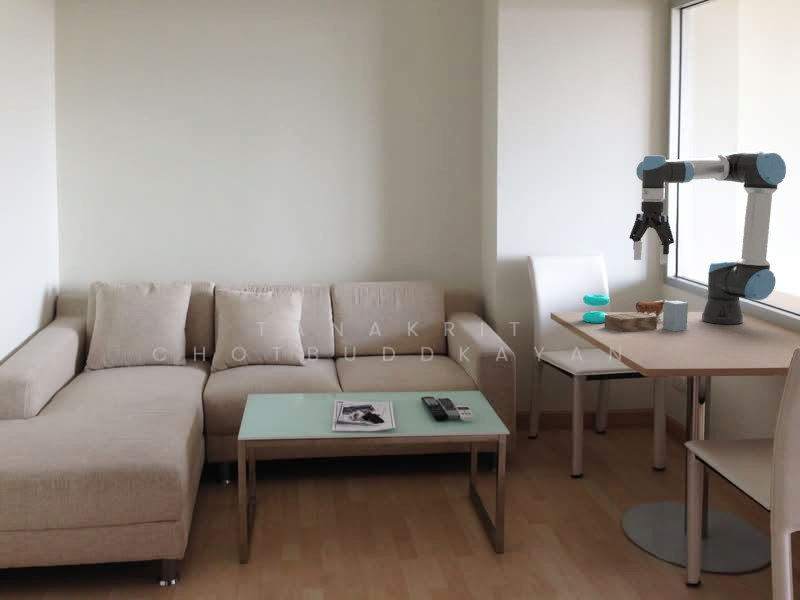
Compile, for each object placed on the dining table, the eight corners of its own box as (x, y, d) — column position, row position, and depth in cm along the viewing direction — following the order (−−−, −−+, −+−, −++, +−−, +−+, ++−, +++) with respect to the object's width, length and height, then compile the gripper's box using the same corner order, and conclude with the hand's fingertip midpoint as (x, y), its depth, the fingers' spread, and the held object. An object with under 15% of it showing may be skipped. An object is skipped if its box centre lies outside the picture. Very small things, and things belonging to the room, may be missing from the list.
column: (675, 326, 358) (676, 300, 357) (686, 329, 353) (688, 302, 352) (662, 328, 356) (664, 301, 354) (673, 330, 351) (675, 303, 349)
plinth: (639, 325, 363) (639, 312, 363) (656, 329, 354) (657, 316, 354) (604, 328, 357) (604, 315, 356) (621, 333, 348) (621, 319, 347)
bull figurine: (671, 321, 369) (672, 300, 368) (635, 320, 372) (636, 299, 370) (669, 319, 374) (670, 299, 372) (634, 318, 376) (635, 298, 375)
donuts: (601, 298, 361) (578, 295, 367) (600, 324, 362) (577, 321, 369) (614, 295, 368) (591, 293, 375) (613, 321, 370) (590, 318, 376)
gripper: (620, 199, 341) (618, 258, 345) (669, 202, 319) (666, 266, 322) (637, 198, 345) (635, 257, 348) (686, 202, 322) (683, 265, 326)
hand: (650, 261), depth 335 cm, fingers open, 13 cm apart
